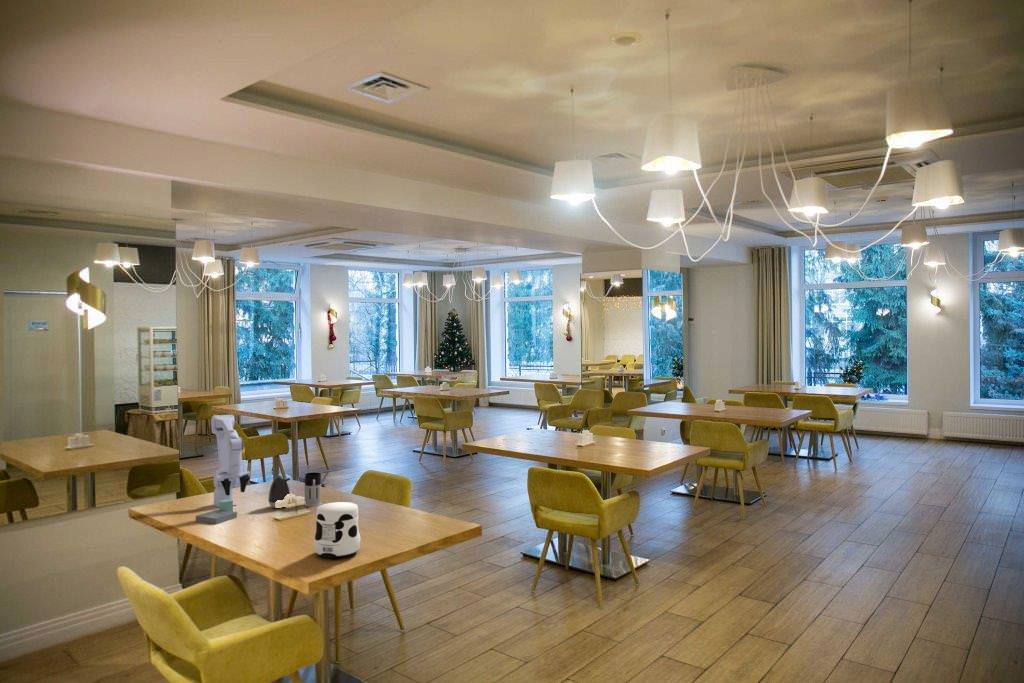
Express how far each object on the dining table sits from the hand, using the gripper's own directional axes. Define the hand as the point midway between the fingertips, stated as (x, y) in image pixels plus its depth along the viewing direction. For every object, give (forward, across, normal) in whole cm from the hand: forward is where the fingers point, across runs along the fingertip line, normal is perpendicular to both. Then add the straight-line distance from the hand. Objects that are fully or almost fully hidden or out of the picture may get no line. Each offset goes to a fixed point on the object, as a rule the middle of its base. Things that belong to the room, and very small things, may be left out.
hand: (235, 493), depth 319 cm
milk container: (+9, -9, -84) cm, 85 cm away
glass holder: (+10, +31, -16) cm, 37 cm away
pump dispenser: (+10, +20, -6) cm, 23 cm away
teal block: (+10, -2, +4) cm, 11 cm away
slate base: (+9, -10, -2) cm, 14 cm away
